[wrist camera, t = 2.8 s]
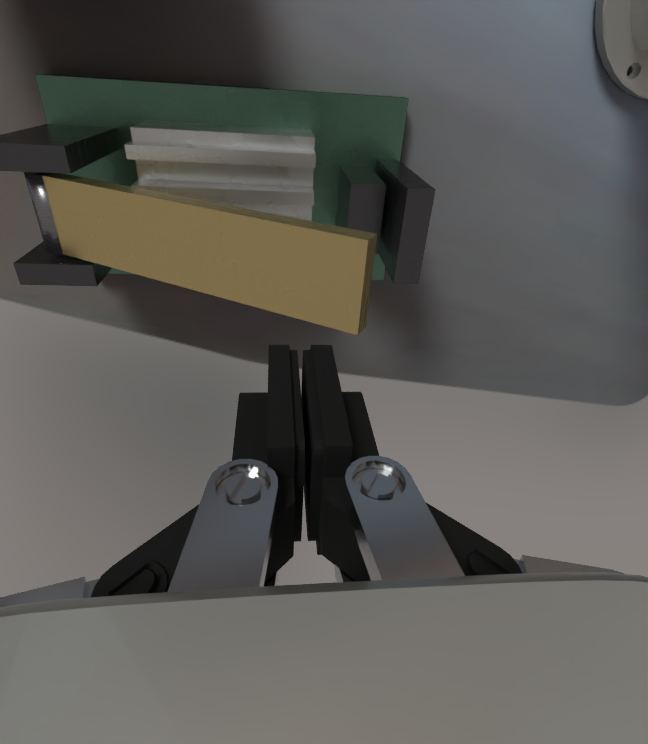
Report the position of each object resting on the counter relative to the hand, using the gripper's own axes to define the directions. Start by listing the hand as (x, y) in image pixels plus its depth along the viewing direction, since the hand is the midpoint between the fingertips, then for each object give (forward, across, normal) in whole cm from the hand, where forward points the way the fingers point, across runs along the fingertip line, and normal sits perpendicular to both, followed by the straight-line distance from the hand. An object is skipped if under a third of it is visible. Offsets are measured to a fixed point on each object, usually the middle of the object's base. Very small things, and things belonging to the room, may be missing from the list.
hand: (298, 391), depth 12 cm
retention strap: (+12, +5, 0) cm, 13 cm away
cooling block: (+24, +3, 0) cm, 24 cm away
